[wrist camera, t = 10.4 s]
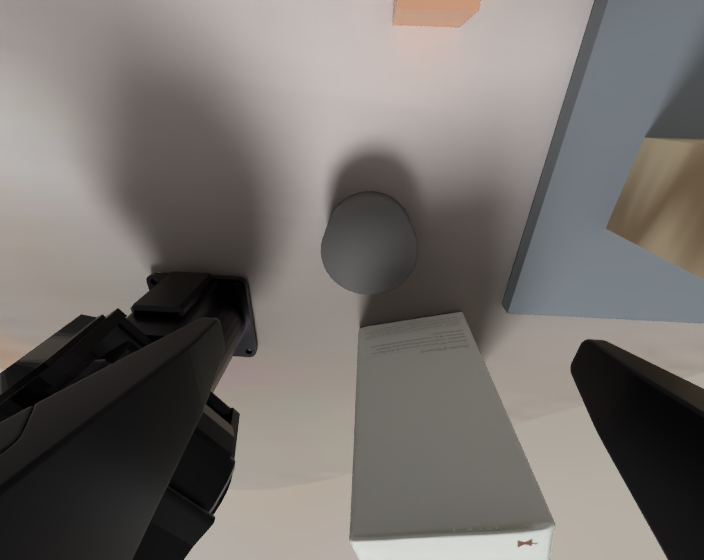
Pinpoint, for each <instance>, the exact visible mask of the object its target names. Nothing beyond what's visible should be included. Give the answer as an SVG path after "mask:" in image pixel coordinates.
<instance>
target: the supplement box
mask: <svg viewBox="0 0 704 560" xmlns="http://www.w3.org/2000/svg"><path fill="white" fill-rule="evenodd" d="M554 530H555V522H554V520H553V518H552V516H551V513H550V511H549V509H548V506H547V504H546V502H545V499H544V497H543V495H542V493H541V490H540V488H539V485H538V483H537V481H536V479H535V476H534V474H533V472H532V470H531V467H530V465H529V463H528V460H527V458H526V456H525V454H524V451H523V449H522V447H521V444H520V442H519V440H518V438H517V435H516V433H515V431H514V428H513V426H512V424H511V422H510V419H509V417H508V415H507V413H506V410H505V408H504V406H503V404H502V401H501V399H500V397H499V394H498V392H497V390H496V387H495V385H494V383H493V381H492V378H491V376H490V374H489V372H488V369H487V367H486V365H485V362H484V360H483V358H482V356H481V353H480V351H479V349H478V347H477V344H476V342H475V340H474V337H473V335H472V333H471V330H470V328H469V326H468V324H467V321H466V319H465V317H464V314H463V313H462V312H456V313H450V314H442V315H436V316H430V317H423V318H417V319H410V320H403V321H397V322H391V323H385V324H379V325H373V326H367V327H363V328H360V329H359V335H358V355H357V380H356V403H355V429H354V454H353V477H352V499H351V522H350V536H349V540H350V543H351V545H352V547H353V549H354V551H355V553H356V555H357V557H358V559H359V560H550V559H551V551H552V543H553V535H554Z"/></svg>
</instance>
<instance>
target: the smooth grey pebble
mask: <svg viewBox="0 0 704 560" xmlns="http://www.w3.org/2000/svg"><path fill="white" fill-rule="evenodd" d="M321 257H322V261H323V264H324V267H325V269H326V271H327V273H328V274H329V275H330V277H331V278H332V279H333V280H334V281H335V282H336V283H337V284H339V285H340V286H342V287H343V288H345V289H347V290H349V291H352V292H355V293H359V294H379V293H383V292H386V291H389V290H391V289H393V288H395V287H396V286H398V285H400V284H401V283H402V282H403V281H404V280H405V279H406V278H407V277H408V276H409V274H410V273H411V271H412V269H413V268H414V265H415V262H416V258H417V241H416V237H415V234H414V232H413V229H412V226H411V223H410V220H409V217H408V215H407V213H406V211H405V210H404V208H403V207H402V206H401V205H400V204H399V203H398V202H397V201H396V200H395V199H393V198H391V197H390V196H388V195H385V194H383V193H379V192H360V193H357V194H354V195H351V196H349V197H348V198H346V199H344V200H343V201H342V202H341V203H340V204H339V205H338V206H337V207H336V208H335V209H334V211H333V213H332V214H331V216H330V219H329V222H328V225H327V228H326V231H325V233H324V236H323V239H322V244H321Z"/></svg>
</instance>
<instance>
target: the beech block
mask: <svg viewBox="0 0 704 560" xmlns="http://www.w3.org/2000/svg"><path fill="white" fill-rule="evenodd" d="M606 229H607V230H609V231H611V232H613V233H615V234H617V235H619V236H621V237H623V238H625V239H627V240H628V241H630V242H632V243H634V244H636V245H638V246H640V247H642V248H644V249H646V250H648V251H650V252H651V253H653V254H655V255H657V256H659V257H661V258H663V259H665V260H667V261H669V262H671V263H673V264H674V265H676V266H678V267H680V268H682V269H684V270H686V271H688V272H690V273H692V274H694V275H696V276H697V277H699V278H701V279H703V280H704V139H676V138H644V140H643V142H642V144H641V147H640V149H639V151H638V154H637V156H636V158H635V161H634V163H633V165H632V168H631V170H630V172H629V175H628V177H627V179H626V182H625V184H624V186H623V189H622V191H621V193H620V196H619V198H618V200H617V203H616V205H615V208H614V210H613V212H612V215H611V217H610V219H609V222H608V224H607V226H606Z"/></svg>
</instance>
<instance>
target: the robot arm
mask: <svg viewBox="0 0 704 560" xmlns="http://www.w3.org/2000/svg"><path fill="white" fill-rule="evenodd" d="M154 279H156V280H157V281H158V282H156V281H155V280H154ZM146 280H147V284H148V287H149V290H150V291H149V292H147V293H146V294H145V295H144V296H143V297H142V298H140V299H139V300H138V301H137V302H136V303H134V305H133V306H132V307H131V311H132V313H131V314H130V315H129V316H128V317H127V318H125V317H126V316H127V315H125V314H124V313H123V312H122V311H121V310H120V309H118V308H117V309H116V310H114V311H113V312H111V313H110V314H109V315H107V316H106V317H105V316H104V315H103V314H102V315H101V316H99V317H92V316H86V315H80V316H79V317H77V318H76V319H74V320H73V321H72V322H70V323H69V324H68V325H66V326H65V327H63V328H62V329H61V330H59V331H58V332H56V333H55V334H54V335H52V336H51V337H50V338H48V339H47V340H45V341H44V342H43V343H41V344H40V345H39V346H37V347H36V348H34V349H33V350H32V351H30V352H29V353H28V354H26V355H25V356H23V357H22V358H21V359H19V360H18V361H17V362H15V363H14V364H12V365H11V366H10V367H8V368H7V369H6V370H4V371H3V372H1V373H0V560H184V558H185V557H186V556H187V554H188V553H189V551H190V550H191V549H192V547H193V546H194V545H195V544H196V542H198V540H199V539H200V538H201V537H202V536H203V535H204V534H205V533H206V531H207V530H208V529H209V528H210V527H211V526H212V524H213V523H214V520H215V517H214V515H213V514H214V513H215V511H216V510H217V508H218V507H219V505H220V504H221V502H222V500H223V498H224V496H225V494H226V492H227V490H228V487H229V485H230V482H231V478H232V473H233V471H234V468H235V460H234V458H235V449H236V441H237V432H238V424H239V415H240V414H239V413H238V412H237V411H236V410H235V409H234V408H230V407H229V406H227V405H226V404H225V403H224V402H223V401H222V400H220V399H219V398H218V397H217V396H216V395H215V394H213V392H214V390H215V388H216V386H217V384H218V382H219V381H220V379H221V377H222V375H223V373H224V371H225V370H226V368H227V366H228V364H229V362H230V360H231V358H232V357H233V356H242V357H252V356H254V355H255V354H256V351H257V344H256V337H255V330H254V323H253V317H252V310H251V303H250V296H249V290H248V283H247V281H246V280H245V279H244V278H242V277H236V276H216V275H212V274H209V273H193V272H171V273H152V274H151V275H150V276H148V277H147V279H146ZM236 283H239V284H241V286H242V287H240V286H238V285H237V284H236ZM248 349H250V350H251V351H250V350H248ZM571 374H572V377H573V379H574V381H575V383H576V386H577V388H578V390H579V392H580V395H581V397H582V399H583V402H584V404H585V406H586V408H587V411H588V413H589V415H590V417H591V420H592V422H593V424H594V426H595V428H596V431H597V432H598V434H599V436H600V438H601V440H602V442H603V444H604V446H605V448H606V449H607V451H608V453H609V455H610V457H611V458H612V460H613V462H614V463H615V466H616V467H617V469H618V471H619V473H620V475H621V476H622V478H623V480H624V482H625V483H626V485H627V487H628V489H629V491H630V492H631V494H632V496H633V498H634V500H635V501H636V503H637V505H638V507H639V509H640V510H641V512H642V514H643V516H644V518H645V519H646V521H647V523H648V525H649V526H650V528H651V530H652V532H653V534H654V535H655V537H656V539H657V541H658V543H659V545H660V546H661V548H662V550H663V552H664V554H665V555H666V557H667V559H668V560H704V389H703V388H701V387H699V386H697V385H695V384H693V383H691V382H689V381H687V380H685V379H682V378H680V377H678V376H676V375H674V374H672V373H670V372H668V371H666V370H664V369H662V368H660V367H658V366H656V365H654V364H652V363H650V362H648V361H646V360H644V359H642V358H640V357H637V356H635V355H633V354H631V353H629V352H627V351H625V350H623V349H621V348H619V347H617V346H615V345H613V344H611V343H609V342H607V341H604V340H591V339H587V340H585V341H583V342H582V343H581V345H580V347H579V349H578V351H577V353H576V355H575V357H574V359H573V361H572V363H571Z"/></svg>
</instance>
